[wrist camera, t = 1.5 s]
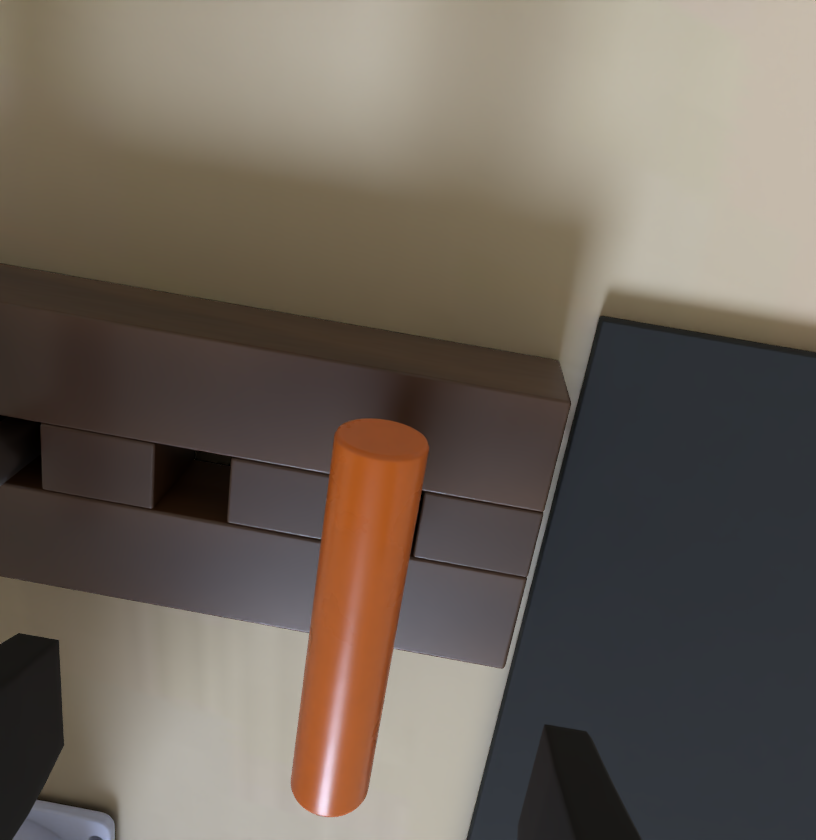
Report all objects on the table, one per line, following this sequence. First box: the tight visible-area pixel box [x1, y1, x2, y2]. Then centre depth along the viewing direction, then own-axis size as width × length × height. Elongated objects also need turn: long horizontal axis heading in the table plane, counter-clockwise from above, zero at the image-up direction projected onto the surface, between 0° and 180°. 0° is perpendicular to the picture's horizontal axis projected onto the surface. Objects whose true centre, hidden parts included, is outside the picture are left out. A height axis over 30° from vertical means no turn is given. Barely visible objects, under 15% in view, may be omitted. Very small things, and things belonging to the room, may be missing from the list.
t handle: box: [291, 418, 429, 817], centre depth 17 cm, size 8×2×8 cm, turn 171°
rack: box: [0, 264, 571, 669], centre depth 20 cm, size 7×17×3 cm, turn 81°
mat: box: [467, 316, 816, 840], centre depth 23 cm, size 20×11×1 cm, turn 171°
